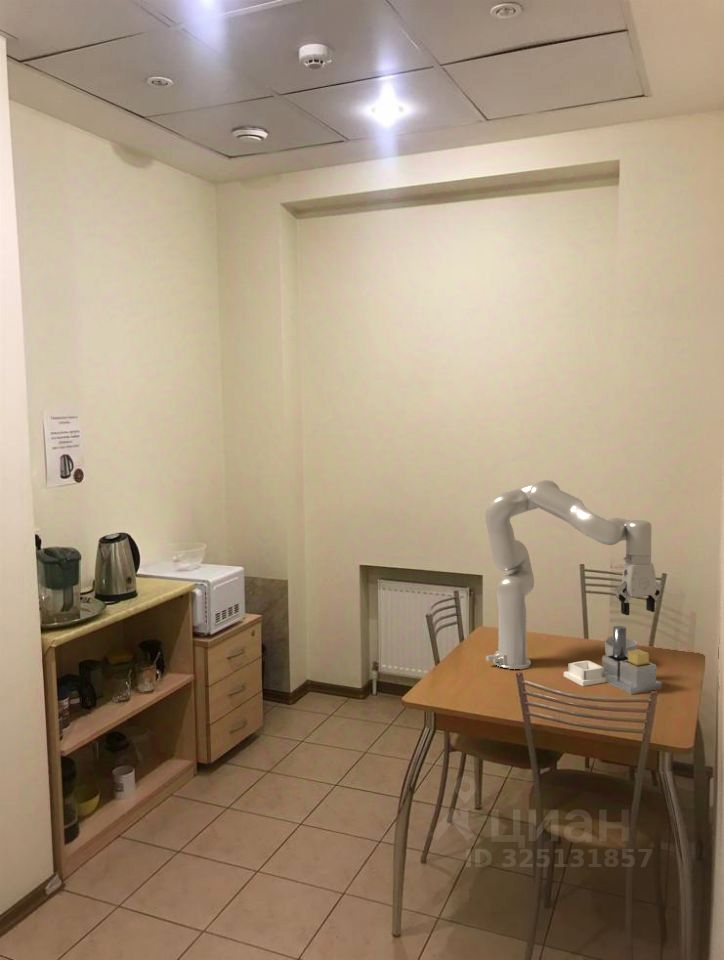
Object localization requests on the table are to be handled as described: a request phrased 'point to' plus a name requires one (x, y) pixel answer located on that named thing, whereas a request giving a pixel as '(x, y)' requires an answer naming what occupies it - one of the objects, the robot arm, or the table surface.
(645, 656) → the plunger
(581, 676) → the white square socket
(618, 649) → the blue-grey cylinder
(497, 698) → the table surface
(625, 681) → the block
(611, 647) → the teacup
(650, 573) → the robot arm
